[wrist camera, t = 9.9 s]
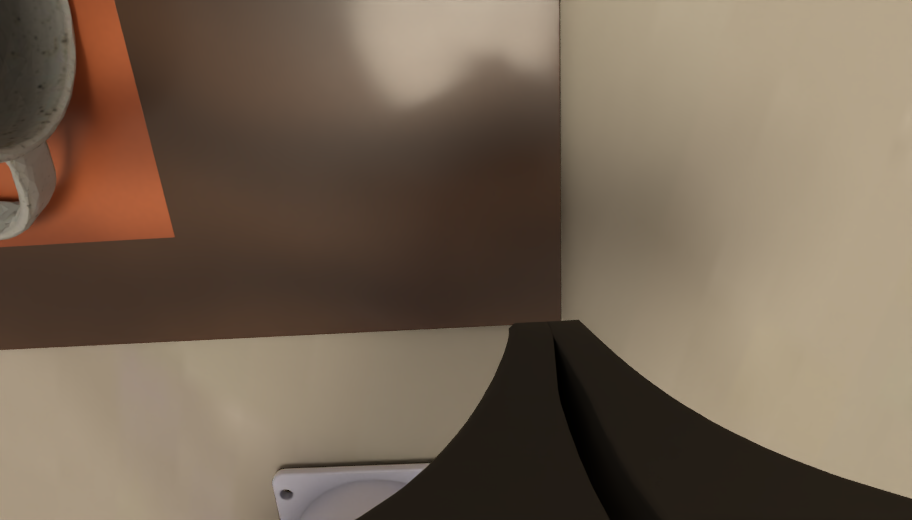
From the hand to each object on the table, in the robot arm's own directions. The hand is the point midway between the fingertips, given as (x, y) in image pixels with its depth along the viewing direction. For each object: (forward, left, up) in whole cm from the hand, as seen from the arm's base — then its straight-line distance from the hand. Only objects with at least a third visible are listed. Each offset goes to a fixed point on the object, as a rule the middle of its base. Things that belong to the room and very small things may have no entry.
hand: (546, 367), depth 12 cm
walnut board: (+4, +11, -9) cm, 15 cm away
